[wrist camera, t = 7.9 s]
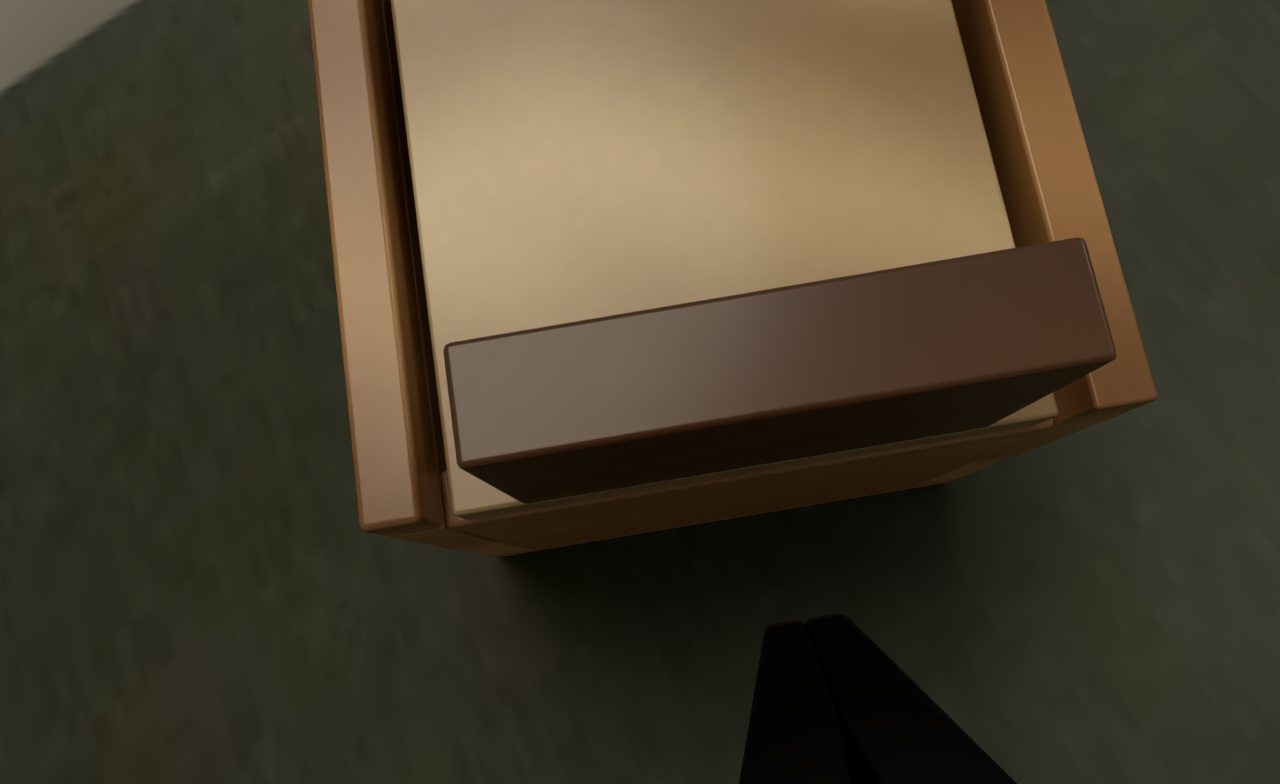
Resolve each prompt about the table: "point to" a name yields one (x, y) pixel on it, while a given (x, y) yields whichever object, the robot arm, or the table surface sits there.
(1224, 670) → the table surface
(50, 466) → the table surface
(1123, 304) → the box
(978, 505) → the table surface
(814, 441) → the lid
